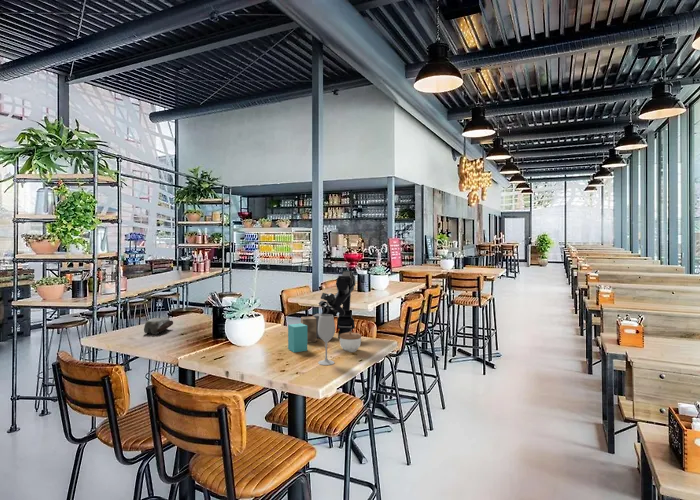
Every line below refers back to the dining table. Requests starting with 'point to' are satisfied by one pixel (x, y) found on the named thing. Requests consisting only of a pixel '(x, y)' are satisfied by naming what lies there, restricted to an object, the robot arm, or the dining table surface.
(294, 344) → the teal block
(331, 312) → the robot arm
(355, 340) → the lidded jar
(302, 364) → the dining table surface
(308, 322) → the walnut block
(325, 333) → the wineglass
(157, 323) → the rock
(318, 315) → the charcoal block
